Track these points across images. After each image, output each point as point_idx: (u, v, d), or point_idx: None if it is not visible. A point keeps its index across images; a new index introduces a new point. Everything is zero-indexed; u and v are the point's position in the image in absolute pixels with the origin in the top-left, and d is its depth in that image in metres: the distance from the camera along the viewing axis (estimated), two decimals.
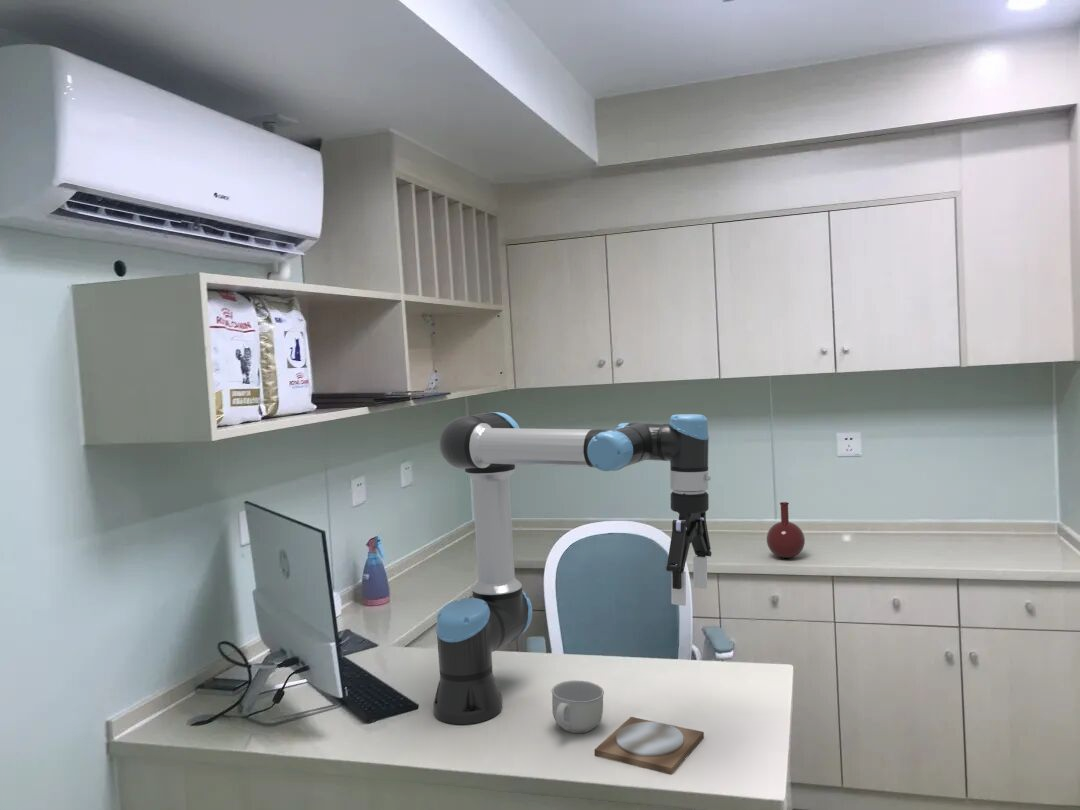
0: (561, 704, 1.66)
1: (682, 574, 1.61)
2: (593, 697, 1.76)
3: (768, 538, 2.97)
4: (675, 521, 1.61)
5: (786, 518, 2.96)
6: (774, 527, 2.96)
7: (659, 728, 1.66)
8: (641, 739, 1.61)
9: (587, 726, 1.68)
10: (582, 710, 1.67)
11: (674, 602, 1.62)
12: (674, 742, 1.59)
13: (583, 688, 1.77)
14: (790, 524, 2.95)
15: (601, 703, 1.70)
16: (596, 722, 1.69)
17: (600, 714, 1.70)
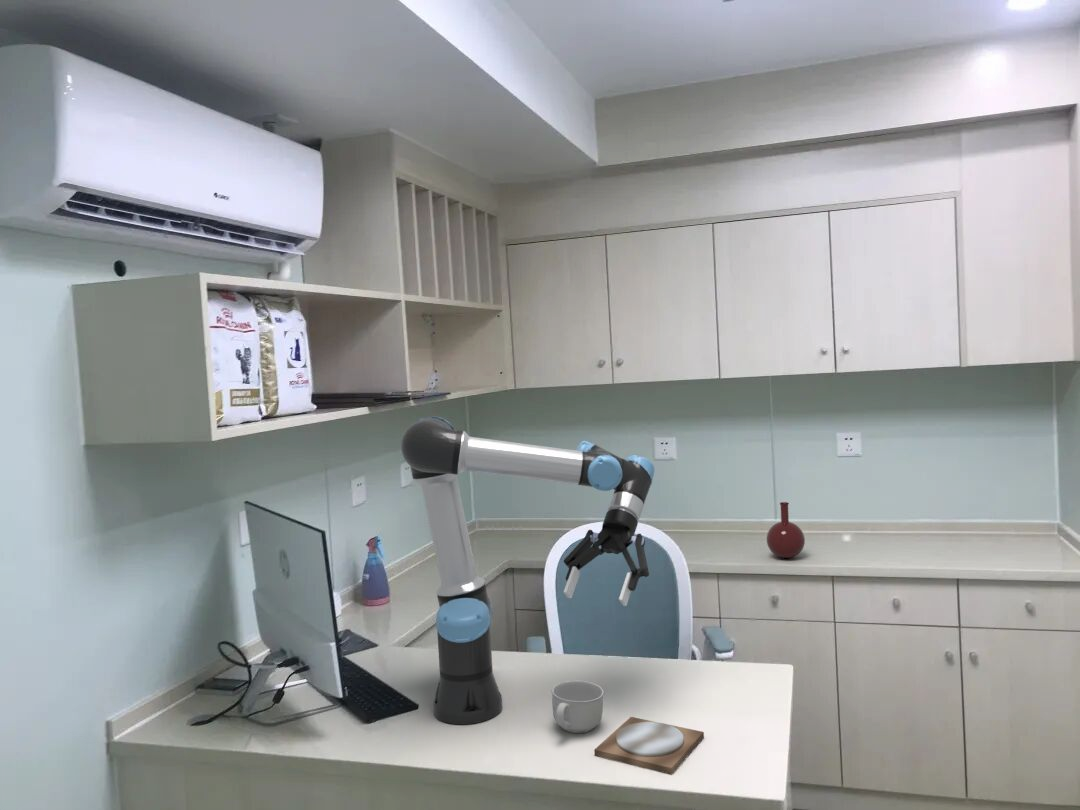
0: (561, 704, 1.66)
1: None
2: (593, 697, 1.76)
3: (768, 538, 2.97)
4: None
5: (786, 518, 2.96)
6: (774, 527, 2.96)
7: (659, 728, 1.66)
8: (641, 739, 1.61)
9: (587, 726, 1.68)
10: (582, 710, 1.67)
11: (623, 599, 1.75)
12: (674, 742, 1.59)
13: (583, 688, 1.77)
14: (790, 524, 2.95)
15: (601, 703, 1.70)
16: (596, 722, 1.69)
17: (600, 714, 1.70)
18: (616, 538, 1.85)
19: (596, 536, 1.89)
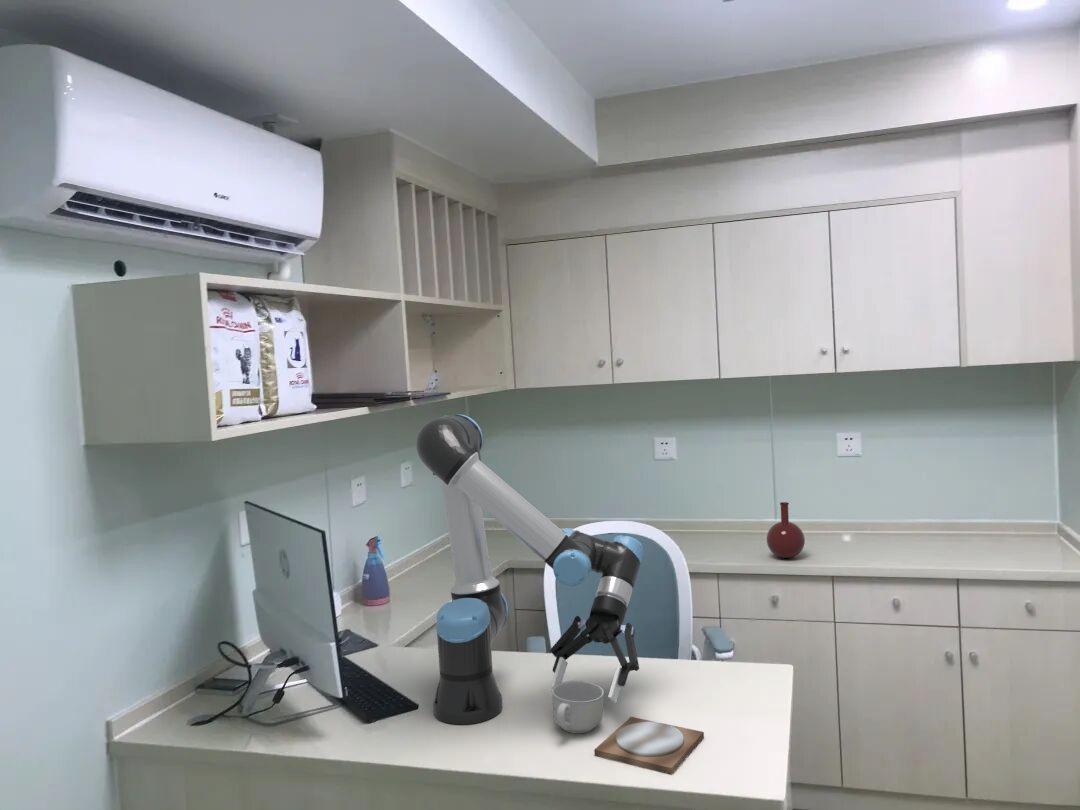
0: (562, 704, 1.66)
1: None
2: (593, 697, 1.76)
3: (768, 538, 2.97)
4: (631, 625, 1.77)
5: (786, 518, 2.96)
6: (774, 527, 2.96)
7: (659, 728, 1.66)
8: (641, 739, 1.61)
9: (588, 726, 1.68)
10: (583, 710, 1.67)
11: (612, 696, 1.68)
12: (674, 742, 1.59)
13: (582, 688, 1.77)
14: (790, 524, 2.95)
15: (601, 703, 1.70)
16: (596, 722, 1.69)
17: (600, 714, 1.70)
18: (605, 627, 1.78)
19: (584, 623, 1.82)
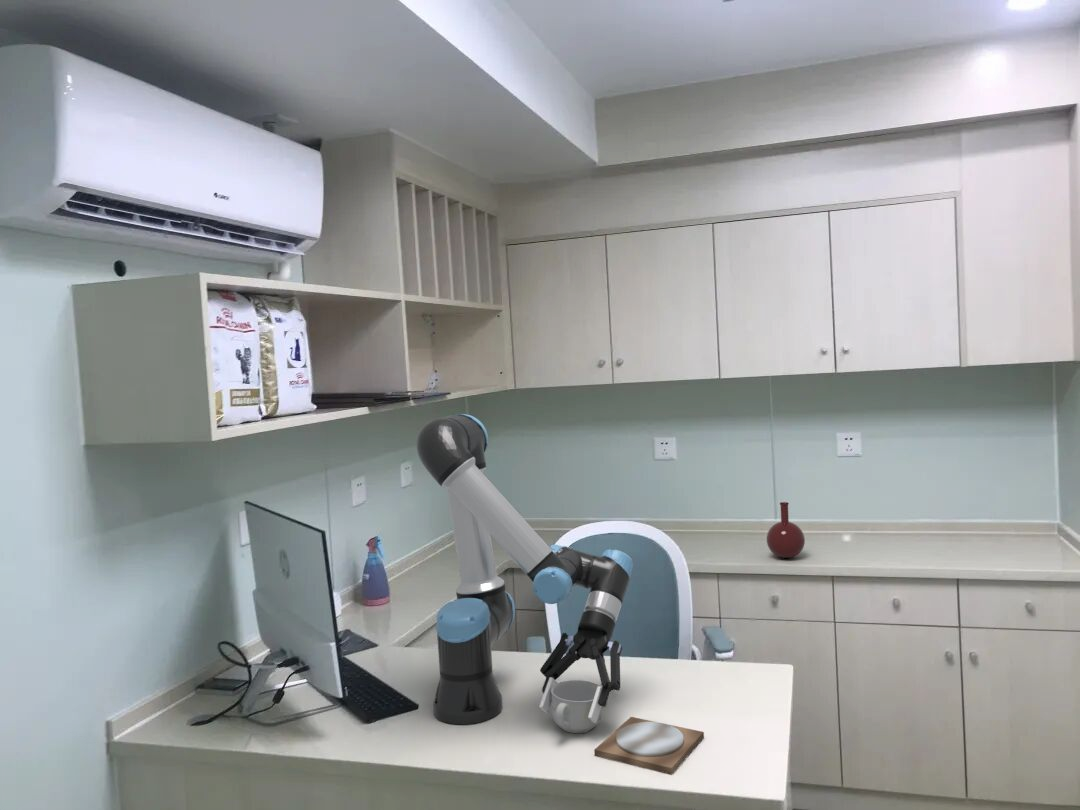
0: (561, 704, 1.66)
1: None
2: (592, 697, 1.76)
3: (768, 538, 2.97)
4: (618, 643, 1.74)
5: (786, 518, 2.96)
6: (774, 527, 2.96)
7: (659, 728, 1.66)
8: (641, 739, 1.61)
9: (586, 726, 1.68)
10: (581, 710, 1.67)
11: (592, 717, 1.65)
12: (674, 742, 1.59)
13: (582, 688, 1.77)
14: (790, 524, 2.95)
15: None
16: None
17: (599, 714, 1.70)
18: (592, 643, 1.75)
19: (571, 639, 1.80)
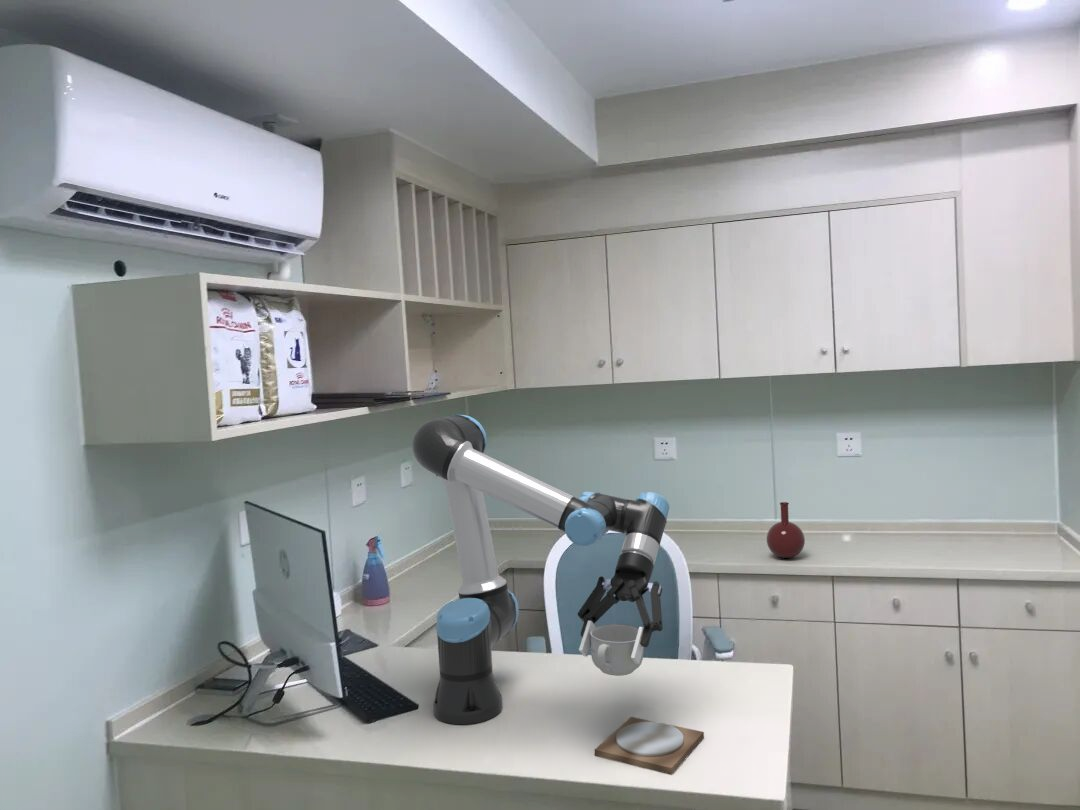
0: (602, 645, 1.61)
1: None
2: (632, 640, 1.70)
3: (768, 538, 2.97)
4: (659, 584, 1.69)
5: (786, 518, 2.96)
6: (774, 527, 2.96)
7: (659, 728, 1.66)
8: (641, 739, 1.61)
9: (629, 668, 1.63)
10: (623, 651, 1.62)
11: (635, 657, 1.60)
12: (674, 742, 1.59)
13: (621, 632, 1.72)
14: (790, 524, 2.95)
15: None
16: (637, 664, 1.64)
17: (641, 656, 1.65)
18: (631, 585, 1.70)
19: (609, 583, 1.74)
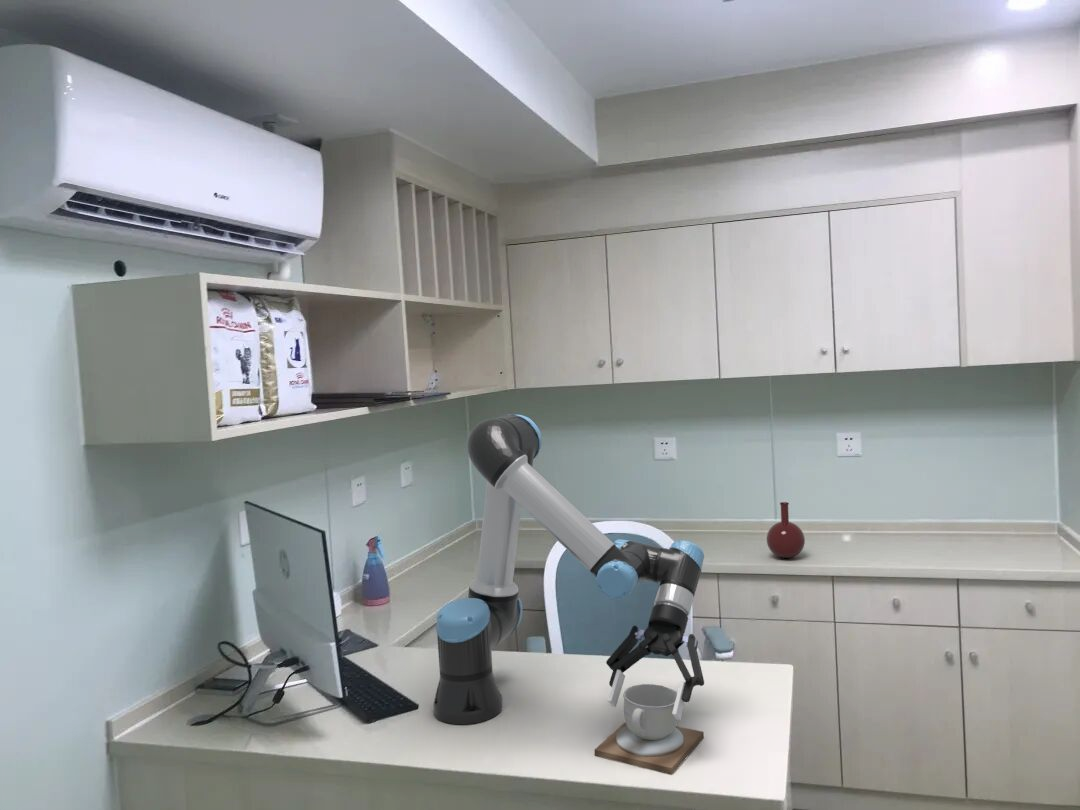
0: (637, 710, 1.57)
1: None
2: (666, 702, 1.67)
3: (768, 538, 2.97)
4: (694, 636, 1.65)
5: (786, 518, 2.96)
6: (774, 527, 2.96)
7: None
8: (641, 739, 1.61)
9: (663, 733, 1.59)
10: (658, 716, 1.58)
11: (677, 713, 1.56)
12: (674, 742, 1.59)
13: (654, 692, 1.68)
14: (790, 524, 2.95)
15: None
16: (672, 728, 1.60)
17: (676, 720, 1.61)
18: (666, 638, 1.66)
19: (642, 633, 1.71)
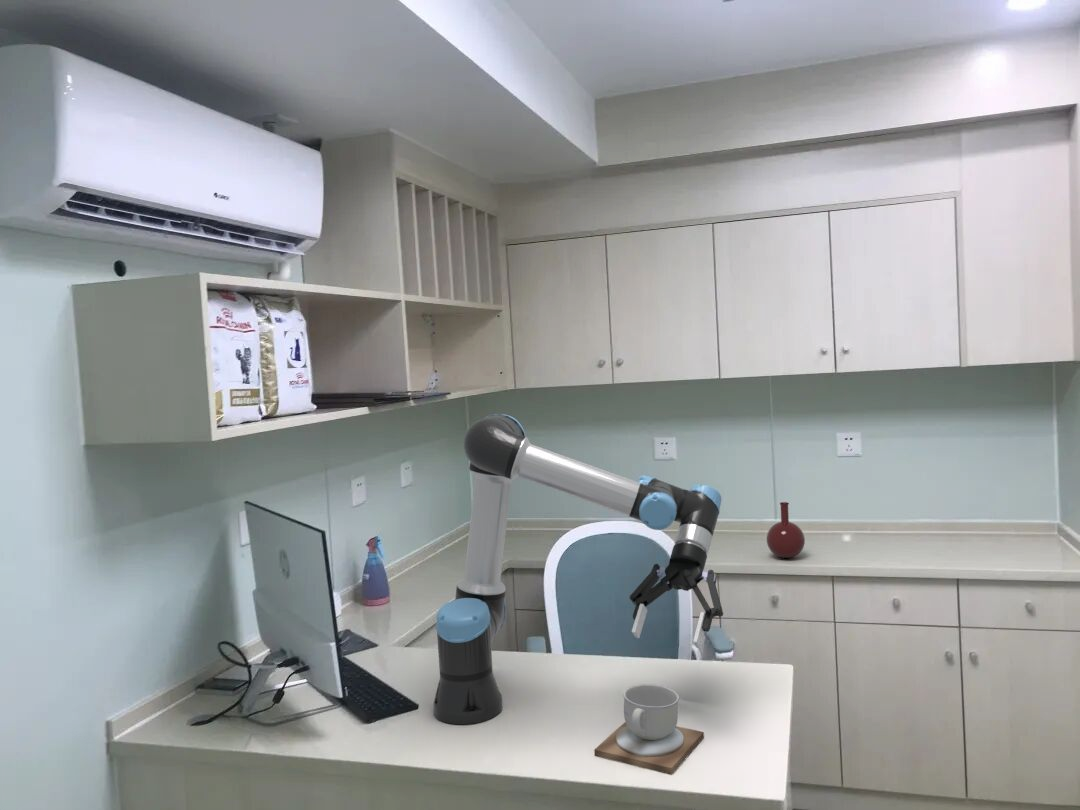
0: (637, 710, 1.57)
1: None
2: (666, 702, 1.67)
3: (768, 538, 2.97)
4: (713, 572, 1.75)
5: (786, 518, 2.96)
6: (774, 527, 2.96)
7: None
8: (641, 739, 1.61)
9: (663, 733, 1.59)
10: (658, 716, 1.58)
11: (697, 641, 1.66)
12: (674, 742, 1.59)
13: (654, 692, 1.68)
14: (790, 524, 2.95)
15: (677, 708, 1.61)
16: (672, 728, 1.60)
17: (676, 720, 1.61)
18: (686, 574, 1.75)
19: (663, 571, 1.80)
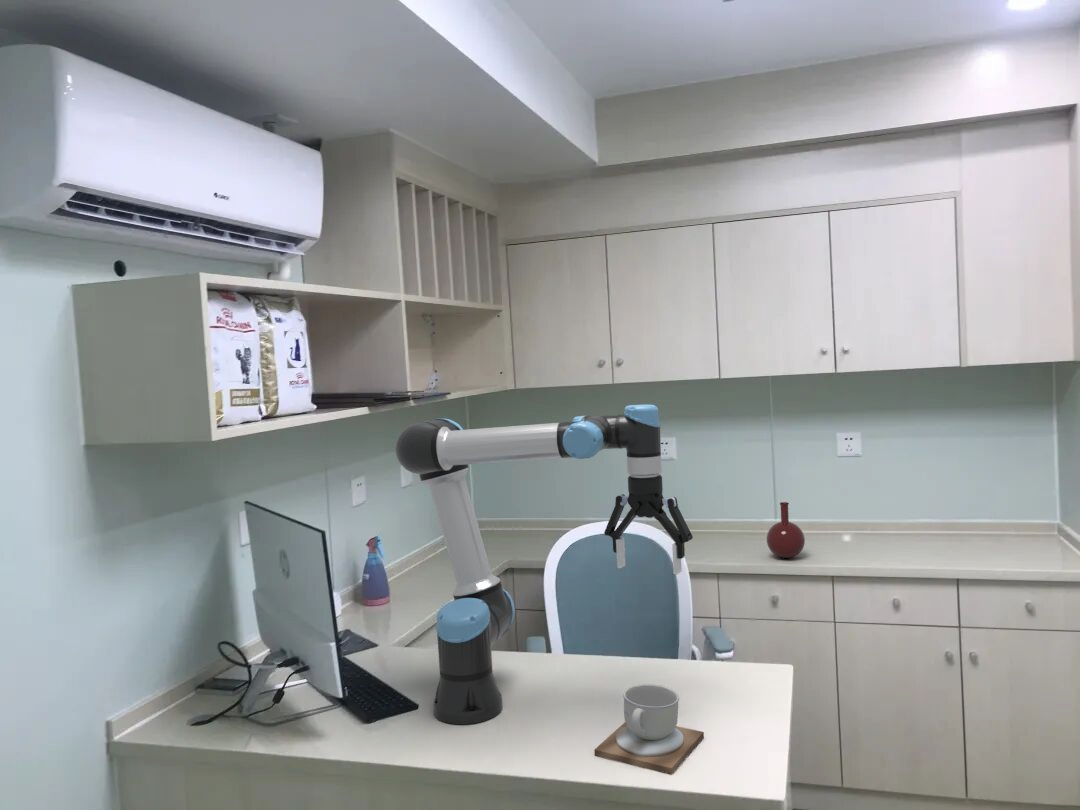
0: (637, 710, 1.57)
1: None
2: (666, 702, 1.67)
3: (768, 538, 2.97)
4: (672, 499, 1.79)
5: (786, 518, 2.96)
6: (774, 527, 2.96)
7: None
8: (641, 739, 1.61)
9: (663, 733, 1.59)
10: (658, 716, 1.58)
11: (677, 572, 1.80)
12: (674, 742, 1.59)
13: (654, 692, 1.68)
14: (790, 524, 2.95)
15: (677, 708, 1.61)
16: (672, 728, 1.60)
17: (676, 720, 1.61)
18: (648, 508, 1.81)
19: (626, 501, 1.85)
